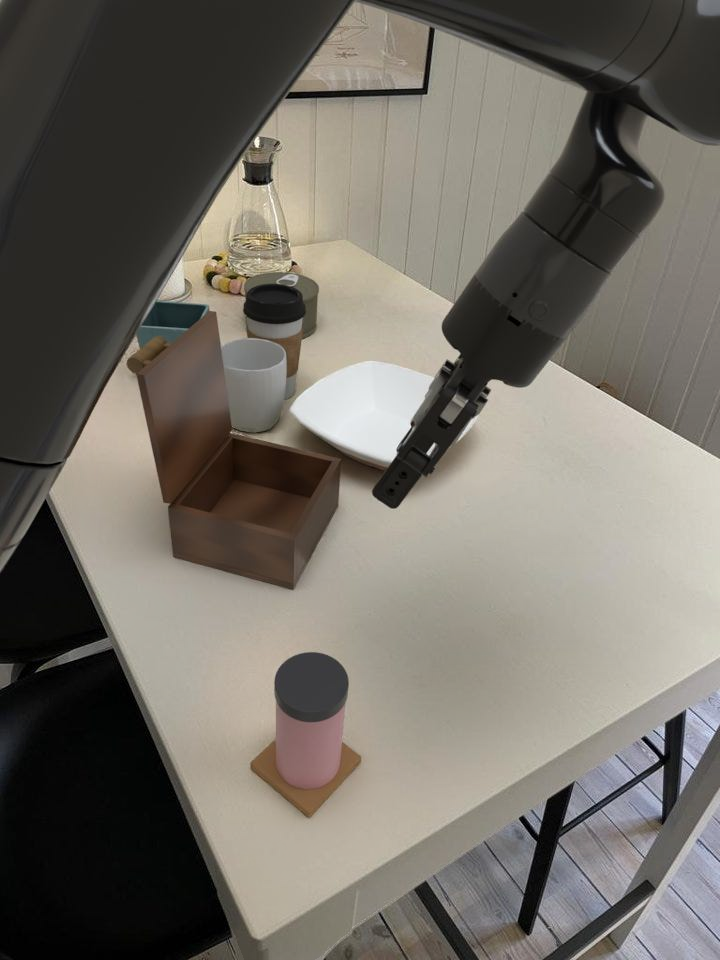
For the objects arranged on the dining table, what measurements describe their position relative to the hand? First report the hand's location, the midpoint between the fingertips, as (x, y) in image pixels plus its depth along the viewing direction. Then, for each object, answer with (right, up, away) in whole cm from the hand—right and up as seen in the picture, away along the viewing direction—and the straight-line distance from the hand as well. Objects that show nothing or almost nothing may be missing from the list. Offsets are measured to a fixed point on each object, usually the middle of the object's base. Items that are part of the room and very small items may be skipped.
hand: (395, 477), depth 58 cm
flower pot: (-30, +16, +53) cm, 63 cm away
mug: (-19, +8, +44) cm, 48 cm away
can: (-16, +25, +67) cm, 74 cm away
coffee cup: (-15, +12, +50) cm, 54 cm away
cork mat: (-7, -23, +4) cm, 25 cm away
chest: (-14, -6, +26) cm, 30 cm away
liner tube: (-7, -23, +3) cm, 24 cm away
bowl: (0, +5, +42) cm, 42 cm away
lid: (-20, +7, +19) cm, 28 cm away
